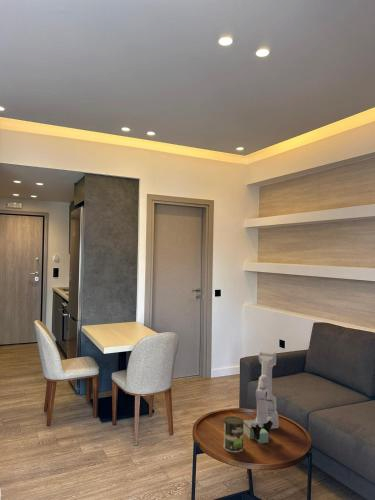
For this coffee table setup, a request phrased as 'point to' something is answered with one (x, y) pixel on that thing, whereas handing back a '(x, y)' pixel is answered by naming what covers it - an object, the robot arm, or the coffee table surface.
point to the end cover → (263, 436)
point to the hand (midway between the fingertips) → (262, 437)
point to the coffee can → (233, 434)
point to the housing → (250, 428)
